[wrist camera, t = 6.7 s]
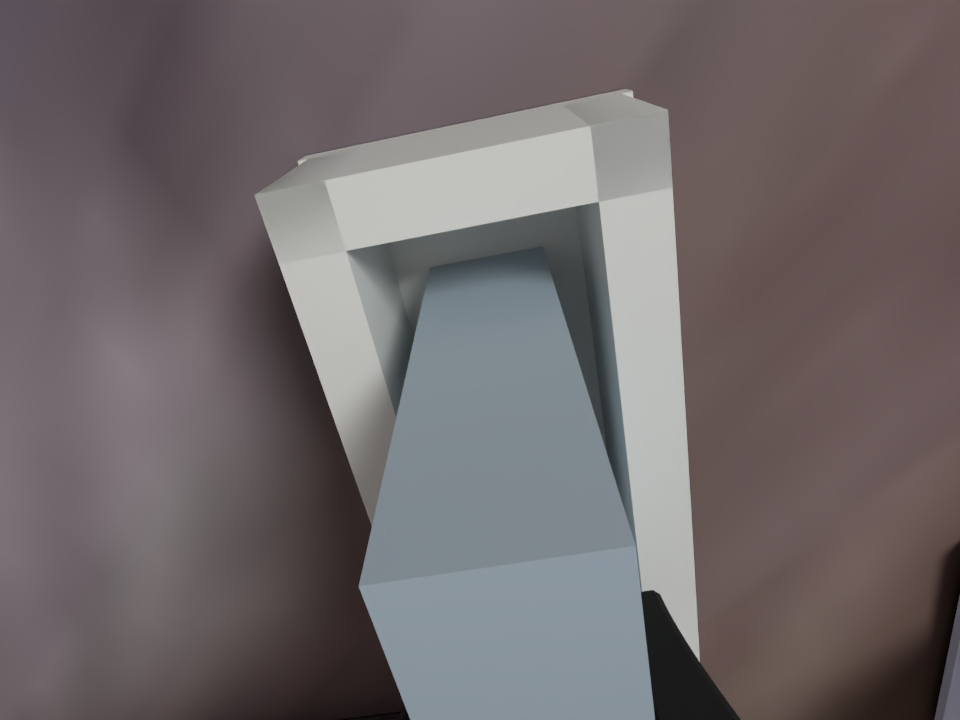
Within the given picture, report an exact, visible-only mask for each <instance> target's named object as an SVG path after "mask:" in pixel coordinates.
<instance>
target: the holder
mask: <svg viewBox="0 0 960 720" xmlns="http://www.w3.org/2000/svg"><path fill="white" fill-rule="evenodd" d="M298 164H299V166H297V167H296V168H294V169H293V170H291V171H290V172H288V173H287V174H285V175H284V176H282V177H280V178H279V179H277V180H276V181H274V182H273V183H271V184H270V185H268V186H267V187H265V188H264V189H262V190H261V191H259V192H258V193H256V194H255V198H256V201H257V204H258V207H259V209H260V212H261V215H262V218H263V221H264V223H265V226H266V229H267V232H268V235H269V238H270V240H271V243H272V246H273V249H274V252H275V255H276V257H277V260H278V263H279V266H280V269H281V271H282V274H283V277H284V280H285V283H286V286H287V288H288V291H289V294H290V297H291V300H292V303H293V305H294V308H295V311H296V314H297V317H298V319H299V322H300V325H301V328H302V331H303V334H304V336H305V339H306V342H307V345H308V348H309V351H310V353H311V356H312V359H313V362H314V365H315V367H316V370H317V373H318V376H319V379H320V382H321V384H322V387H323V390H324V393H325V396H326V399H327V401H328V404H329V407H330V410H331V413H332V415H333V418H334V421H335V424H336V427H337V430H338V432H339V435H340V438H341V441H342V444H343V447H344V449H345V452H346V455H347V458H348V461H349V463H350V466H351V469H352V472H353V475H354V478H355V480H356V483H357V486H358V489H359V492H360V495H361V497H362V500H363V503H364V506H365V509H366V511H367V514H368V517H369V520H370V523H371V526H372V524H373V520H374V515H375V511H376V506H377V502H378V497H379V493H380V488H381V484H382V479H383V475H384V470H385V466H386V462H387V457H388V453H389V448H390V444H391V439H392V435H393V430H394V426H395V421H396V417H397V412H398V408H399V403H400V399H401V395H402V390H403V386H404V381H405V377H406V372H407V368H408V363H409V359H410V354H411V350H412V345H413V341H414V336H415V332H416V328H417V323H418V319H419V314H420V310H421V305H422V301H423V296H424V292H425V287H426V283H427V278H428V274H429V269H430V267H435V266H440V265H446V264H451V263H456V262H461V261H467V260H472V259H477V258H482V257H488V256H493V255H498V254H503V253H509V252H514V251H519V250H524V249H530V248H535V247H540V246H543V250H544V253H545V256H546V259H547V262H548V266H549V269H550V272H551V275H552V279H553V282H554V285H555V288H556V291H557V295H558V298H559V301H560V304H561V307H562V311H563V314H564V317H565V320H566V324H567V327H568V330H569V333H570V336H571V340H572V343H573V346H574V349H575V352H576V356H577V359H578V362H579V365H580V368H581V372H582V375H583V378H584V381H585V385H586V388H587V391H588V394H589V397H590V401H591V404H592V407H593V410H594V413H595V417H596V420H597V423H598V426H599V430H600V433H601V436H602V439H603V442H604V446H605V449H606V452H607V455H608V458H609V462H610V465H611V468H612V471H613V475H614V478H615V481H616V484H617V487H618V491H619V494H620V497H621V500H622V503H623V507H624V510H625V513H626V516H627V520H628V523H629V526H630V529H631V532H632V536H633V539H634V542H635V545H636V553H637V562H638V571H639V580H640V589H641V592H643V591H650V590H654V591H655V592H657V593H659V594H660V595H661V597H662V599H663V601H664V603H665V605H666V607H667V609H668V611H669V613H670V615H671V616H672V618H673V620H674V622H675V623H676V625H677V627H678V629H679V630H680V632H681V634H682V635H683V637H684V638H685V640H686V642H687V643H688V645H689V646H690V648H691V649H692V651H693V653H694V654H695V656H696V657H697V659H698V660H699V662H700V656H699V639H698V622H697V604H696V587H695V570H694V552H693V535H692V518H691V500H690V483H689V465H688V448H687V431H686V413H685V396H684V379H683V361H682V344H681V327H680V309H679V292H678V275H677V257H676V240H675V223H674V205H673V188H672V170H671V153H670V136H669V118H668V110H667V109H664V108H661V107H658V106H655V105H652V104H649V103H647V102H644V101H641V100H638V99H635V98H633V91H630V90H627V89H623V90H618V91H614V92H609V93H604V94H599V95H594V96H590V97H585V98H580V99H575V100H571V101H566V102H561V103H556V104H552V105H547V106H542V107H537V108H532V109H528V110H523V111H518V112H513V113H509V114H504V115H499V116H494V117H489V118H485V119H480V120H475V121H470V122H466V123H461V124H456V125H451V126H447V127H442V128H437V129H432V130H427V131H423V132H418V133H413V134H408V135H404V136H399V137H394V138H389V139H385V140H380V141H375V142H370V143H365V144H361V145H356V146H351V147H346V148H342V149H337V150H332V151H327V152H322V153H318V154H313V155H308V156H305V157H303V158H302V159H300V160H299V161H298Z"/></svg>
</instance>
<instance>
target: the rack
mask: <svg viewBox="0 0 960 720" xmlns="http://www.w3.org/2000/svg"><path fill="white" fill-rule="evenodd" d="M399 716H400V713H396V714H388V715H380V716H372V717H365V718H357V719H349V720H398V718H399Z"/></svg>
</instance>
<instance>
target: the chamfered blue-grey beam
mask: <svg viewBox="0 0 960 720" xmlns="http://www.w3.org/2000/svg"><path fill="white" fill-rule="evenodd" d="M359 589H360V591H361V594H362V597H363V599H364V602H365V604H366V607H367V609H368V612H369V615H370V617H371V620H372V622H373V625H374V628H375V630H376V633H377V635H378V638H379V640H380V643H381V646H382V648H383V651H384V653H385V656H386V658H387V661H388V664H389V666H390V669H391V671H392V674H393V677H394V679H395V682H396V684H397V687H398V689H399V692H400V695H401V697H402V700H403V702H404V705H405V707H406V710H407V713H408V715H409V718H410V720H655V714H654V705H653V696H652V687H651V678H650V670H649V661H648V652H647V643H646V634H645V625H644V616H643V607H642V598H641V589H640V580H639V571H638V562H637V553H636V545H635V542H634V539H633V536H632V532H631V529H630V526H629V523H628V520H627V516H626V513H625V510H624V507H623V503H622V500H621V497H620V494H619V491H618V487H617V484H616V481H615V478H614V475H613V471H612V468H611V465H610V462H609V458H608V455H607V452H606V449H605V446H604V442H603V439H602V436H601V433H600V430H599V426H598V423H597V420H596V417H595V413H594V410H593V407H592V404H591V401H590V397H589V394H588V391H587V388H586V385H585V381H584V378H583V375H582V372H581V368H580V365H579V362H578V359H577V356H576V352H575V349H574V346H573V343H572V340H571V336H570V333H569V330H568V327H567V324H566V320H565V317H564V314H563V311H562V307H561V304H560V301H559V298H558V295H557V291H556V288H555V285H554V282H553V279H552V275H551V272H550V269H549V266H548V262H547V259H546V256H545V253H544V250H543V246H540V247H535V248H530V249H524V250H519V251H514V252H509V253H503V254H498V255H493V256H488V257H482V258H477V259H472V260H467V261H461V262H456V263H451V264H446V265H440V266H435V267H430V269H429V274H428V278H427V283H426V287H425V292H424V296H423V301H422V305H421V310H420V314H419V319H418V323H417V328H416V332H415V336H414V341H413V345H412V350H411V354H410V359H409V363H408V368H407V372H406V377H405V381H404V386H403V390H402V395H401V399H400V403H399V408H398V412H397V417H396V421H395V426H394V430H393V435H392V439H391V444H390V448H389V453H388V457H387V462H386V466H385V470H384V475H383V479H382V484H381V488H380V493H379V497H378V502H377V506H376V511H375V515H374V520H373V524H372V529H371V533H370V538H369V542H368V546H367V551H366V555H365V560H364V564H363V569H362V573H361V578H360V582H359Z"/></svg>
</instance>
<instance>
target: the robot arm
mask: <svg viewBox="0 0 960 720" xmlns="http://www.w3.org/2000/svg"><path fill="white" fill-rule="evenodd" d="M641 598H642V607H643V616H644V625H645V634H646V643H647V652H648V661H649V670H650V678H651V687H652V696H653V705H654V714H655V720H740V718H739V717H738V715H737V714H736V713H735V711H734V710H733V709H732V707H731V706H730V704H729V703H728V702H727V700H726V699H725V698H724V696H723V695H722V693H721V692H720V691H719V689H718V688H717V687H716V685H715V684H714V682H713V681H712V680H711V678H710V677H709V675H708V674H707V672H706V671H705V669H704V668H703V666H702V665H701V663H700V662H699V660H698V659H697V657H696V656H695V654H694V653H693V651H692V649H691V648H690V646H689V645H688V643H687V642H686V640H685V638H684V637H683V635H682V634H681V632H680V630H679V629H678V627H677V625H676V623H675V622H674V620H673V618H672V616H671V615H670V613H669V611H668V609H667V607H666V605H665V603H664V601H663V599H662V597H661V595H660V594H659V593H657V592H655V591H654V590H650V591H643V592H641ZM398 720H410V718H409V715H408V713H407V710H406V707H405V705H404V706H403V708H402V711H401V713H400V716H399V718H398ZM934 720H960V596H959V601H958V606H957V611H956V616H955V621H954V626H953V630H952V635H951V640H950V645H949V650H948V655H947V660H946V665H945V670H944V675H943V680H942V685H941V690H940V694H939V699H938V704H937V709H936V714H935V719H934Z"/></svg>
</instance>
